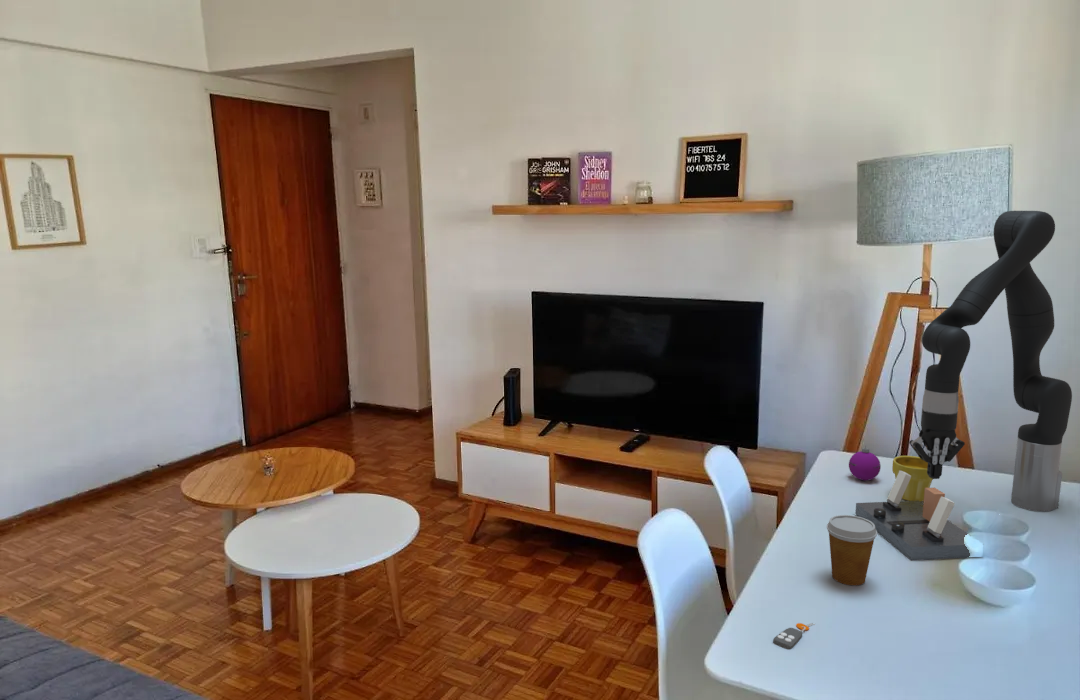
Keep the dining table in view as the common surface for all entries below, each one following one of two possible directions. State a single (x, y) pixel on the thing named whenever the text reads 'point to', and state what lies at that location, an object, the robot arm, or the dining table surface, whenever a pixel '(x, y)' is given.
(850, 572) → the disposable coffee cup
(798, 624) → the key chain
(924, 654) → the dining table surface
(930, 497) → the slider knob
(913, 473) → the plant pot
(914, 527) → the panel
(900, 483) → the lever
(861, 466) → the christmas ornament
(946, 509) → the lever
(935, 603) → the dining table surface
